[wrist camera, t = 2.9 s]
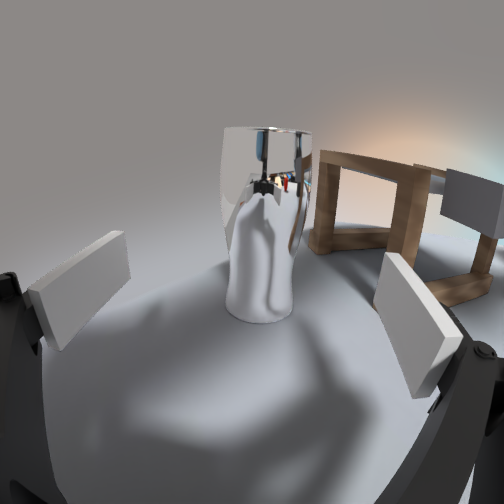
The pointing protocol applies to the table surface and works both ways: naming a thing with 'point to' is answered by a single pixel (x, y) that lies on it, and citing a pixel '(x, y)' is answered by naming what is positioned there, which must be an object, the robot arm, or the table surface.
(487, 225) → the trapdoor
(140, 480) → the table surface
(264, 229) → the beer glass
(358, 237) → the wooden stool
